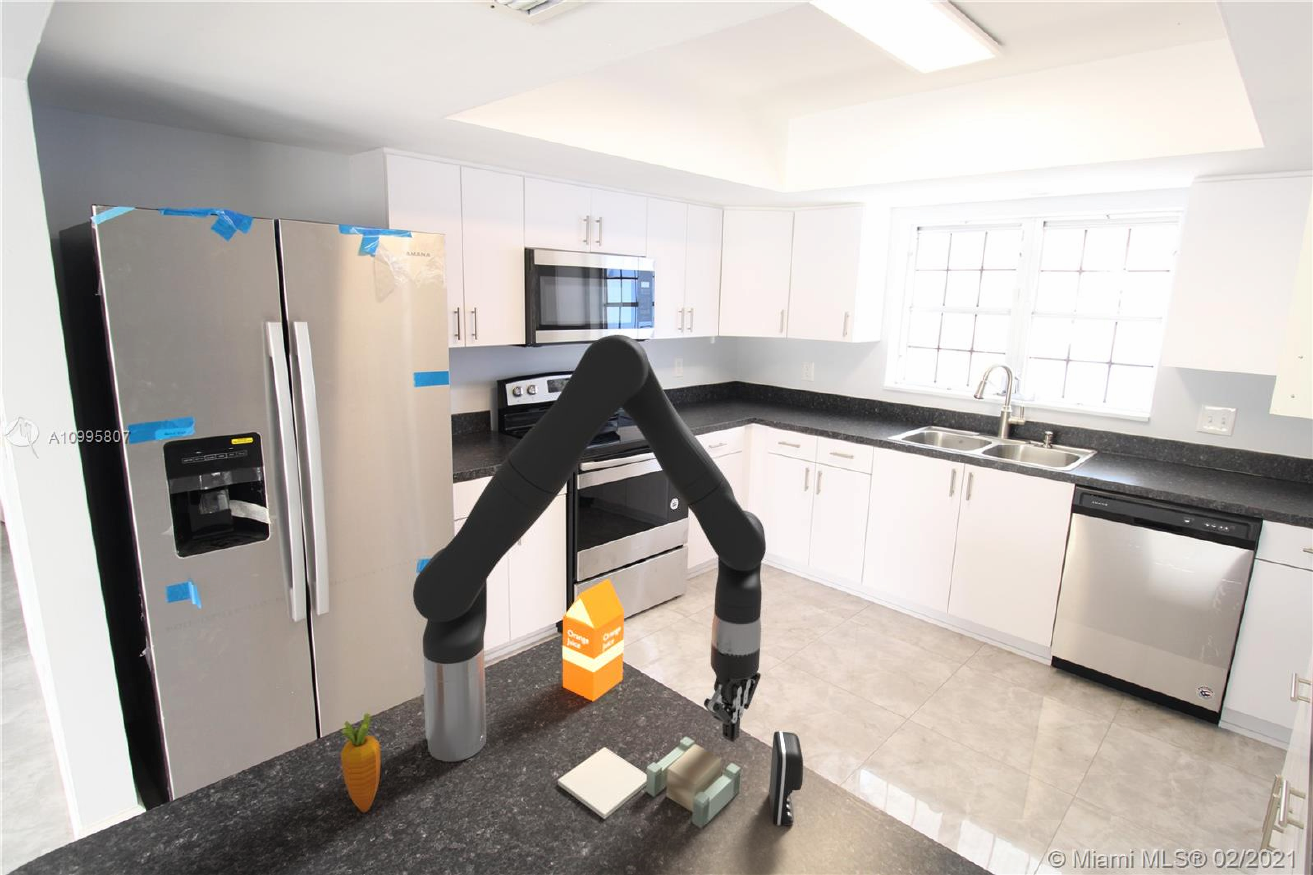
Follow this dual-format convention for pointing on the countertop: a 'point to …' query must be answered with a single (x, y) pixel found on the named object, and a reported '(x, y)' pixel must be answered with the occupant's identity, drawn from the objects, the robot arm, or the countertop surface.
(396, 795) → the countertop surface
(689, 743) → the rails
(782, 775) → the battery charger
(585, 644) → the orange juice
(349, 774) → the carrot
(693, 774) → the block
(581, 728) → the countertop surface
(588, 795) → the plate
